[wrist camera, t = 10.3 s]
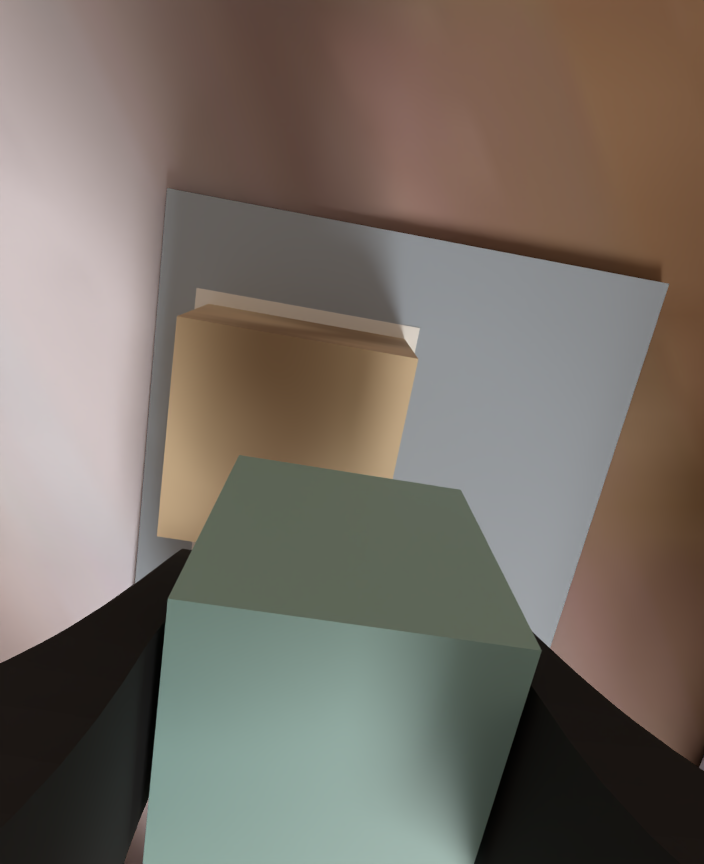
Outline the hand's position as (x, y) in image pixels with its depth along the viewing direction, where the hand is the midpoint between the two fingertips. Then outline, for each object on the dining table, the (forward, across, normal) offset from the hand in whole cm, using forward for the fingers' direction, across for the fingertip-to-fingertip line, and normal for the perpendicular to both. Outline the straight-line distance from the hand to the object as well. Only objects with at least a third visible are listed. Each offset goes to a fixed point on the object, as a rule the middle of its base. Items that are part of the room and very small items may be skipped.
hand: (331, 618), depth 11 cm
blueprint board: (+9, -1, +4) cm, 10 cm away
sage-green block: (+2, 0, 0) cm, 2 cm away
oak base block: (+9, +2, -1) cm, 9 cm away
